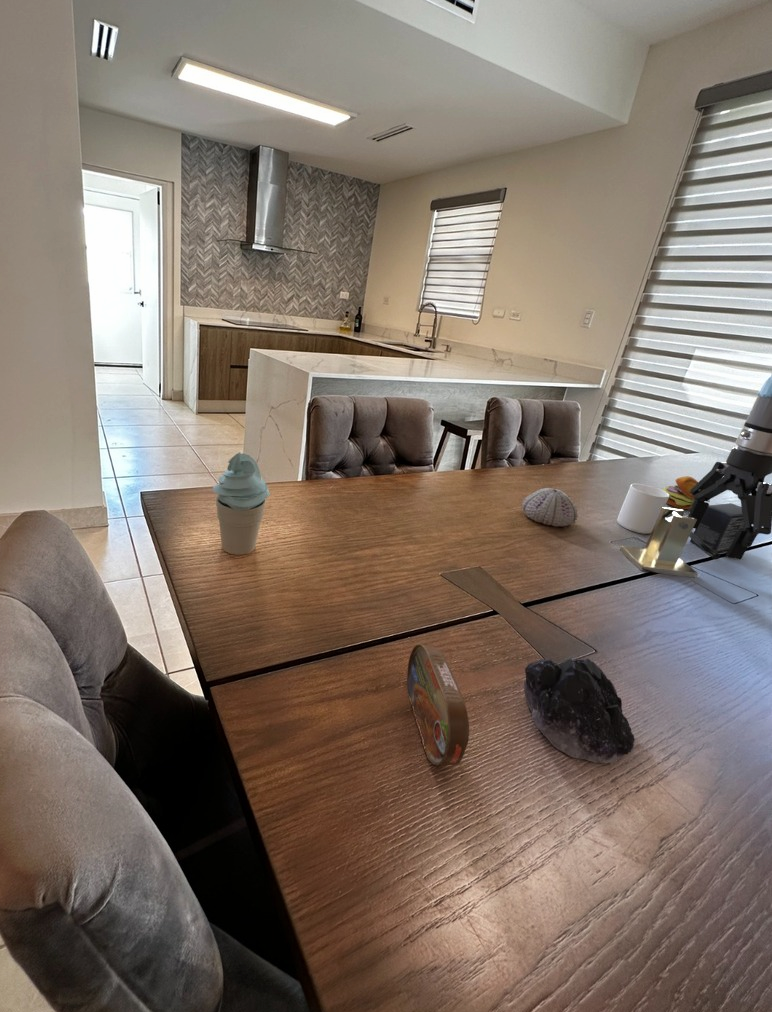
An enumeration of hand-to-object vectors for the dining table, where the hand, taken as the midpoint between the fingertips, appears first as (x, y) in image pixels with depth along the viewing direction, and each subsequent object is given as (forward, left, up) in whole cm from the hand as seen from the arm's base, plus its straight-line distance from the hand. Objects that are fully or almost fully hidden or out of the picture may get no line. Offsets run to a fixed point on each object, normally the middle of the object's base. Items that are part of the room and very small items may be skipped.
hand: (710, 541), depth 104 cm
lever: (+5, +1, 0) cm, 5 cm away
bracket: (+9, +2, -7) cm, 12 cm away
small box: (-10, -17, -7) cm, 21 cm away
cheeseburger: (-12, -46, -7) cm, 48 cm away
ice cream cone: (+95, +39, -7) cm, 103 cm away
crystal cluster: (+37, +59, -7) cm, 70 cm away
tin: (+55, +67, -7) cm, 87 cm away
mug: (+7, -20, -7) cm, 22 cm away
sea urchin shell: (+31, -11, -7) cm, 34 cm away
